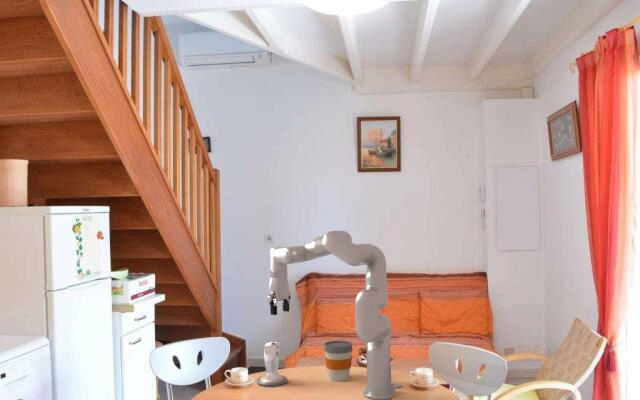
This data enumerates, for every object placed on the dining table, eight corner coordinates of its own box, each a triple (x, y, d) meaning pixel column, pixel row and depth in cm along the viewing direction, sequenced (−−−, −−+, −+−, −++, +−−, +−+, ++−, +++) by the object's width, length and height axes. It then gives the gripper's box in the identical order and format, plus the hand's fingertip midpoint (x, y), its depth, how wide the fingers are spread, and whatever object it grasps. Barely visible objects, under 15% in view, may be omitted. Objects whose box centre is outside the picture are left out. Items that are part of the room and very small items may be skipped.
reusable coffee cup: (321, 381, 214) (320, 346, 215) (329, 373, 226) (328, 339, 227) (349, 383, 211) (348, 347, 212) (355, 374, 223) (355, 341, 224)
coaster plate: (283, 376, 223) (283, 372, 223) (290, 384, 211) (289, 381, 211) (254, 379, 219) (254, 375, 219) (259, 388, 207) (259, 384, 207)
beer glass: (277, 381, 211) (277, 345, 211) (261, 380, 212) (261, 345, 213) (282, 376, 217) (281, 342, 218) (267, 376, 219) (266, 341, 220)
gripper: (282, 272, 233) (283, 309, 232) (260, 276, 218) (261, 315, 217) (296, 273, 229) (297, 310, 228) (274, 276, 214) (276, 316, 213)
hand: (280, 313), depth 222 cm, fingers open, 9 cm apart
